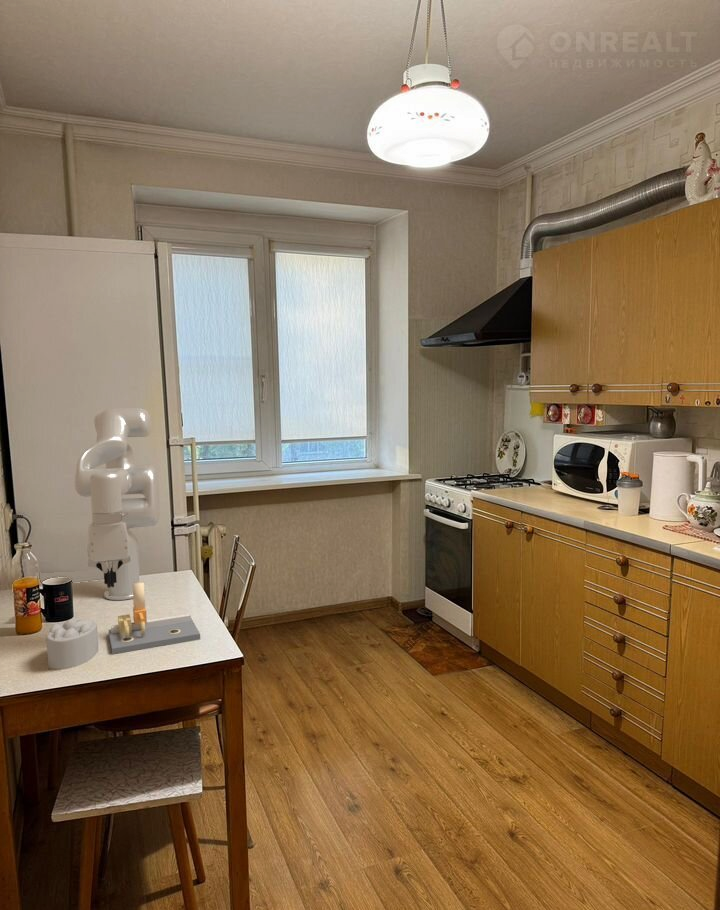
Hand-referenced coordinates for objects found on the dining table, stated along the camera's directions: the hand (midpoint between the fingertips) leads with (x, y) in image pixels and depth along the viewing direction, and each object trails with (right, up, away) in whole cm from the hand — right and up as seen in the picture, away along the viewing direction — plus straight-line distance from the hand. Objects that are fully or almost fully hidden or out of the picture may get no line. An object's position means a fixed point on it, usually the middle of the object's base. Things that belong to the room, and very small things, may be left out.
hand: (110, 586), depth 168 cm
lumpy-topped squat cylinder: (-5, -16, -11) cm, 20 cm away
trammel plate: (+11, -14, +2) cm, 18 cm away
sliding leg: (+7, -12, +2) cm, 15 cm away
